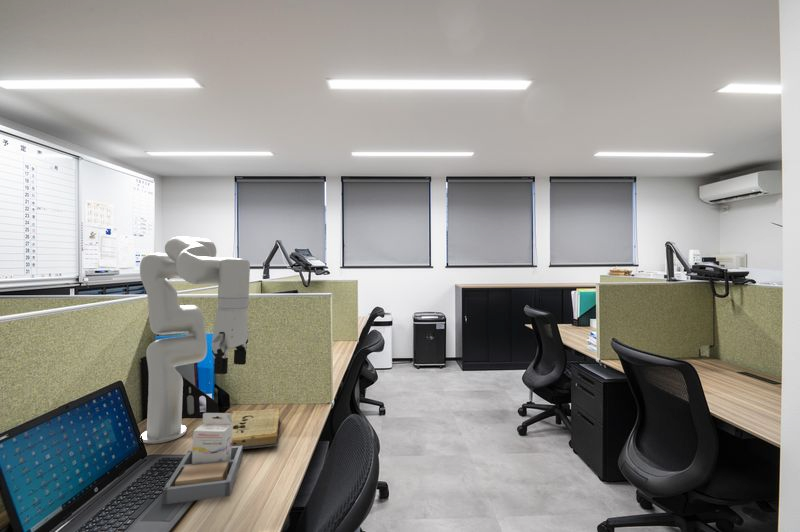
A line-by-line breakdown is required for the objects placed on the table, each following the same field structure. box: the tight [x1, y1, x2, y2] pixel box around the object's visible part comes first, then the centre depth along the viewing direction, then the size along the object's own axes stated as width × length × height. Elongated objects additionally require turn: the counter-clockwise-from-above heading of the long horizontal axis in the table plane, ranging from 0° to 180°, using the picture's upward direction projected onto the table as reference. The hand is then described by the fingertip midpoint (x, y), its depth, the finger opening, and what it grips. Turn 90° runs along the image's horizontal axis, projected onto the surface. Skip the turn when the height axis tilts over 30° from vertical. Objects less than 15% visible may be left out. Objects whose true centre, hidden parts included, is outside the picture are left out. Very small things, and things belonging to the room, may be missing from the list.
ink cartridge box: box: [191, 412, 232, 464], centre depth 97 cm, size 9×5×15 cm, turn 92°
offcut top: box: [175, 462, 228, 486], centre depth 88 cm, size 7×10×2 cm
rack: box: [161, 445, 244, 506], centre depth 92 cm, size 19×14×4 cm
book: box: [231, 406, 281, 450], centre depth 117 cm, size 25×17×6 cm
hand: (230, 368), depth 95 cm, fingers open, 9 cm apart
